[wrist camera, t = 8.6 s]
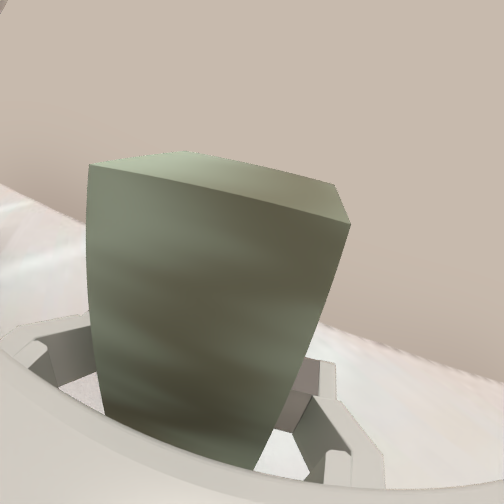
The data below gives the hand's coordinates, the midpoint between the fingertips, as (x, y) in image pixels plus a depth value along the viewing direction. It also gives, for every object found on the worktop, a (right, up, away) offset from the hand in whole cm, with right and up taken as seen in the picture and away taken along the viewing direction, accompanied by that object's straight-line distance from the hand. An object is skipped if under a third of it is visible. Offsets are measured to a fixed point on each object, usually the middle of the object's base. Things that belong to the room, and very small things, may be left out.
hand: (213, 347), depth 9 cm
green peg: (-1, -6, +2) cm, 7 cm away
